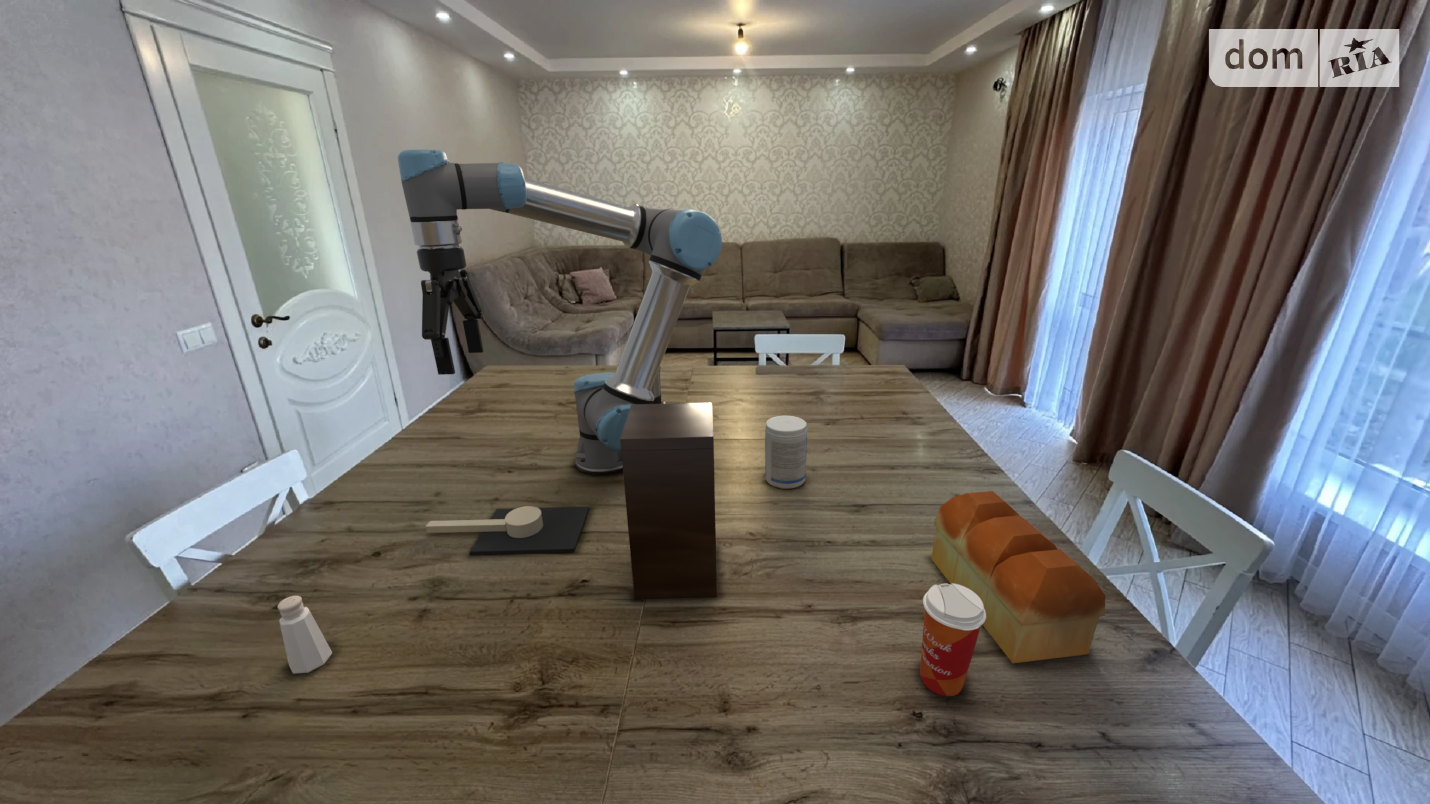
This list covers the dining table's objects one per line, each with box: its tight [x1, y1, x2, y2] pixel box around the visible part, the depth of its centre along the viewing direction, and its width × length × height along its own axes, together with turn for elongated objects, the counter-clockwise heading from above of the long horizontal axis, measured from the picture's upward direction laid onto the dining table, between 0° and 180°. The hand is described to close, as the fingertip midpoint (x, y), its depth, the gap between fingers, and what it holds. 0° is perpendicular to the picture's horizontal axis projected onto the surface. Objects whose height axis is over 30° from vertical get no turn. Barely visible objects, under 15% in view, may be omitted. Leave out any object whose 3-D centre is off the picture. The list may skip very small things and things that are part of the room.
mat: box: [469, 506, 590, 556], centre depth 112 cm, size 15×20×1 cm
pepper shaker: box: [277, 595, 333, 675], centre depth 80 cm, size 5×5×11 cm
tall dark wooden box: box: [620, 402, 718, 600], centre depth 94 cm, size 14×14×30 cm
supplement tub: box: [764, 415, 808, 490], centre depth 127 cm, size 10×10×15 cm
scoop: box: [425, 505, 543, 538], centre depth 111 cm, size 7×23×3 cm, turn 91°
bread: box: [930, 490, 1106, 664], centre depth 88 cm, size 25×12×15 cm, turn 7°
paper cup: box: [919, 583, 986, 697], centre depth 74 cm, size 8×8×14 cm
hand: (462, 362), depth 104 cm, fingers open, 13 cm apart
